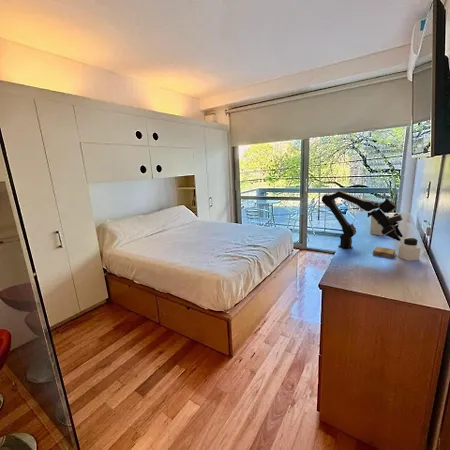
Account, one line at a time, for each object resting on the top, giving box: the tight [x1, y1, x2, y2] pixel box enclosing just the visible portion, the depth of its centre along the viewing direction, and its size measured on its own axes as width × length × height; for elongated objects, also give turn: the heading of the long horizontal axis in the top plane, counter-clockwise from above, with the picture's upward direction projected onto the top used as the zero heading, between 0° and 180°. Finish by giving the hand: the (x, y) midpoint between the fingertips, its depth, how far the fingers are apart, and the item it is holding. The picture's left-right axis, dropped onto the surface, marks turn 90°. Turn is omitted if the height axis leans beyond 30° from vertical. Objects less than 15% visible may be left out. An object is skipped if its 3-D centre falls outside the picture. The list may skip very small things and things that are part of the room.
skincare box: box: [369, 216, 384, 236], centre depth 189 cm, size 8×6×15 cm
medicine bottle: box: [397, 237, 422, 262], centre depth 140 cm, size 7×7×12 cm
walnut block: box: [372, 246, 396, 259], centre depth 149 cm, size 10×10×3 cm
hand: (401, 238), depth 142 cm, fingers open, 9 cm apart
